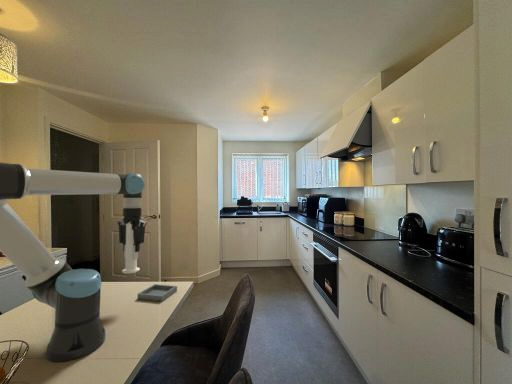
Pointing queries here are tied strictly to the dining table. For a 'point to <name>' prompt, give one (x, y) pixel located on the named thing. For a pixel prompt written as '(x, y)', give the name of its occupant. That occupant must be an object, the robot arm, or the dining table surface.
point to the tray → (157, 292)
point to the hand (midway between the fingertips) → (131, 258)
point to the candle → (130, 251)
